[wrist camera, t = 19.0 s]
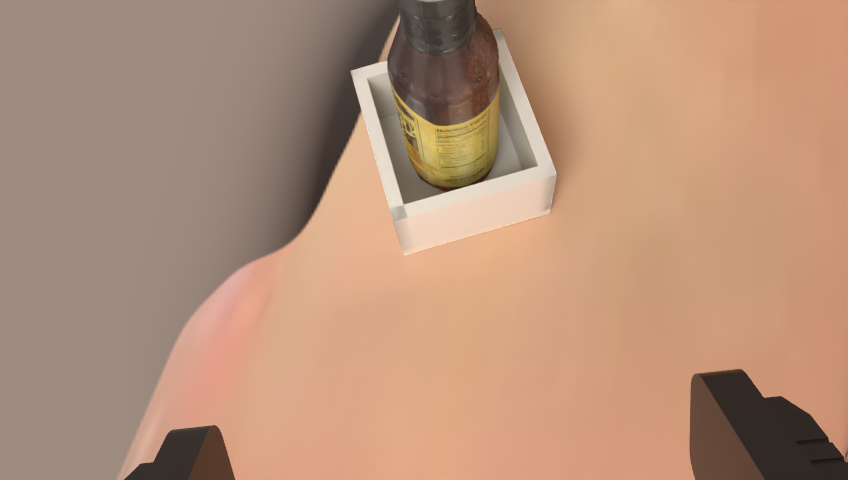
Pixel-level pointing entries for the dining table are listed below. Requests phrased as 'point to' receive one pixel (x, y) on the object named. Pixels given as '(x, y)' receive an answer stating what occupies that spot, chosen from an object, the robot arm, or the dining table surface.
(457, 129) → the sauce bottle
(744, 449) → the robot arm
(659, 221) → the dining table surface
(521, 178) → the bottle holder
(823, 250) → the dining table surface
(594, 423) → the dining table surface
